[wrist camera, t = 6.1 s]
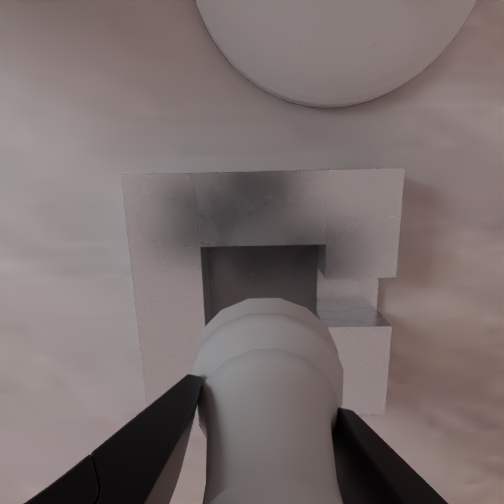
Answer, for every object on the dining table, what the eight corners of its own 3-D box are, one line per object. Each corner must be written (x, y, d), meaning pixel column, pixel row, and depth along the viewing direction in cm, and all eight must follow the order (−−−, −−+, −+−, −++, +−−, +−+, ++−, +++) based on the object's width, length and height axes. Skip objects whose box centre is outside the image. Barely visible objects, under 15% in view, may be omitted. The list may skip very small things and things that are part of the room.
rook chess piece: (178, 307, 10) (-101, 782, 2) (321, 277, 10) (592, 697, 2) (214, 427, 11) (113, 1049, 3) (345, 403, 11) (587, 1018, 3)
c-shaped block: (161, 386, 19) (148, 416, 17) (140, 175, 16) (121, 174, 14) (368, 384, 19) (384, 414, 16) (383, 169, 16) (405, 168, 14)
